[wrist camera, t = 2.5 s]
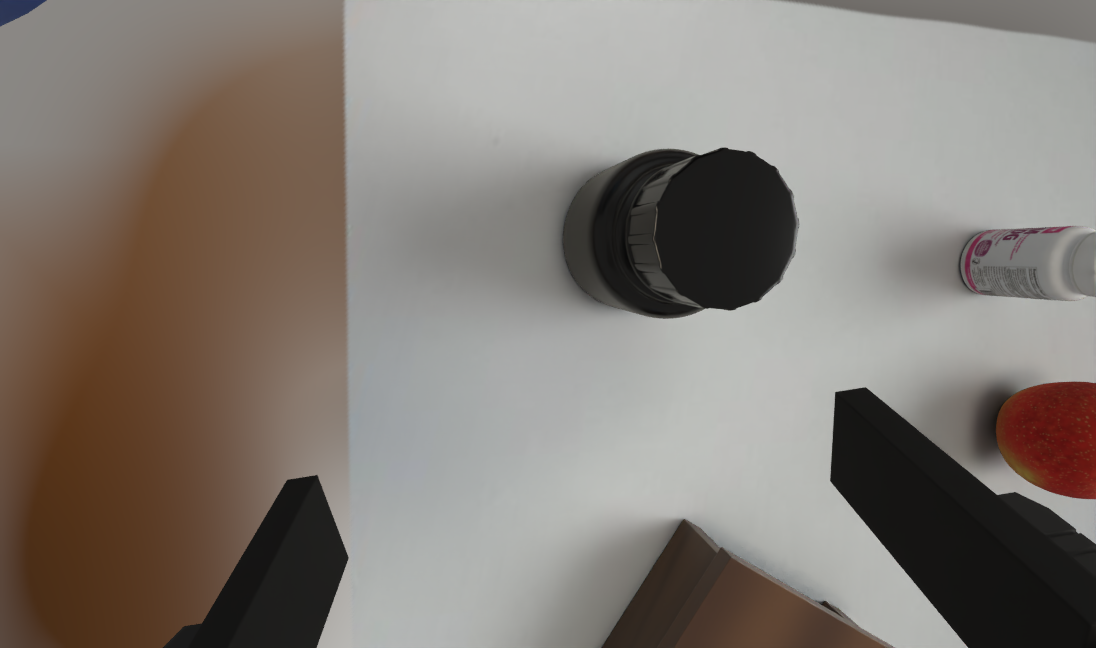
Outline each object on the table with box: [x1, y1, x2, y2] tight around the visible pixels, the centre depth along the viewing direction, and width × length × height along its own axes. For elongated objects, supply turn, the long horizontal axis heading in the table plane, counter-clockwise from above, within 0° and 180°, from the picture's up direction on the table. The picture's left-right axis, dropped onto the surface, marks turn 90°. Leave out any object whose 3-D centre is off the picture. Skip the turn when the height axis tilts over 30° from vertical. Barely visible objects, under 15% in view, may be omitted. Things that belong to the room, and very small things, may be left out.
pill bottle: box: [961, 226, 1096, 301], centre depth 37 cm, size 5×5×8 cm
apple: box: [996, 382, 1096, 499], centre depth 38 cm, size 8×8×10 cm
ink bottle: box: [563, 148, 799, 319], centre depth 29 cm, size 10×9×12 cm
